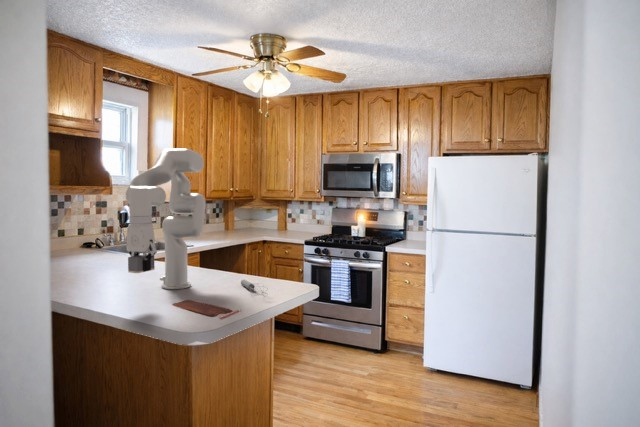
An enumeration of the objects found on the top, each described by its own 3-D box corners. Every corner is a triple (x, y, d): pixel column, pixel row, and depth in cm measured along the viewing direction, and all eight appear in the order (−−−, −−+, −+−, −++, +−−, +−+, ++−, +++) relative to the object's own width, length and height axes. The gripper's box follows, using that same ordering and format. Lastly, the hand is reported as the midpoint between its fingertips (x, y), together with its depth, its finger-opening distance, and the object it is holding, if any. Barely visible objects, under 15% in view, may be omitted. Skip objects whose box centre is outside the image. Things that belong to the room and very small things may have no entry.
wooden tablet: (234, 313, 160) (234, 308, 160) (211, 319, 152) (211, 314, 152) (190, 300, 177) (190, 296, 177) (167, 305, 169) (167, 301, 169)
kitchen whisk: (248, 283, 207) (248, 270, 207) (270, 301, 176) (270, 285, 176) (235, 284, 205) (235, 271, 204) (255, 302, 174) (255, 286, 173)
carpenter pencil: (219, 319, 151) (219, 317, 151) (240, 310, 161) (239, 308, 161) (221, 319, 151) (221, 317, 151) (241, 310, 161) (241, 309, 161)
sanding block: (128, 272, 161) (128, 257, 160) (145, 268, 168) (145, 254, 168) (137, 273, 159) (137, 258, 158) (154, 269, 166) (154, 255, 166)
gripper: (115, 220, 162) (117, 269, 164) (149, 222, 155) (150, 274, 156) (132, 219, 169) (133, 266, 170) (165, 221, 162) (166, 270, 163)
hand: (141, 269), depth 163 cm, fingers closed on sanding block, 4 cm apart
